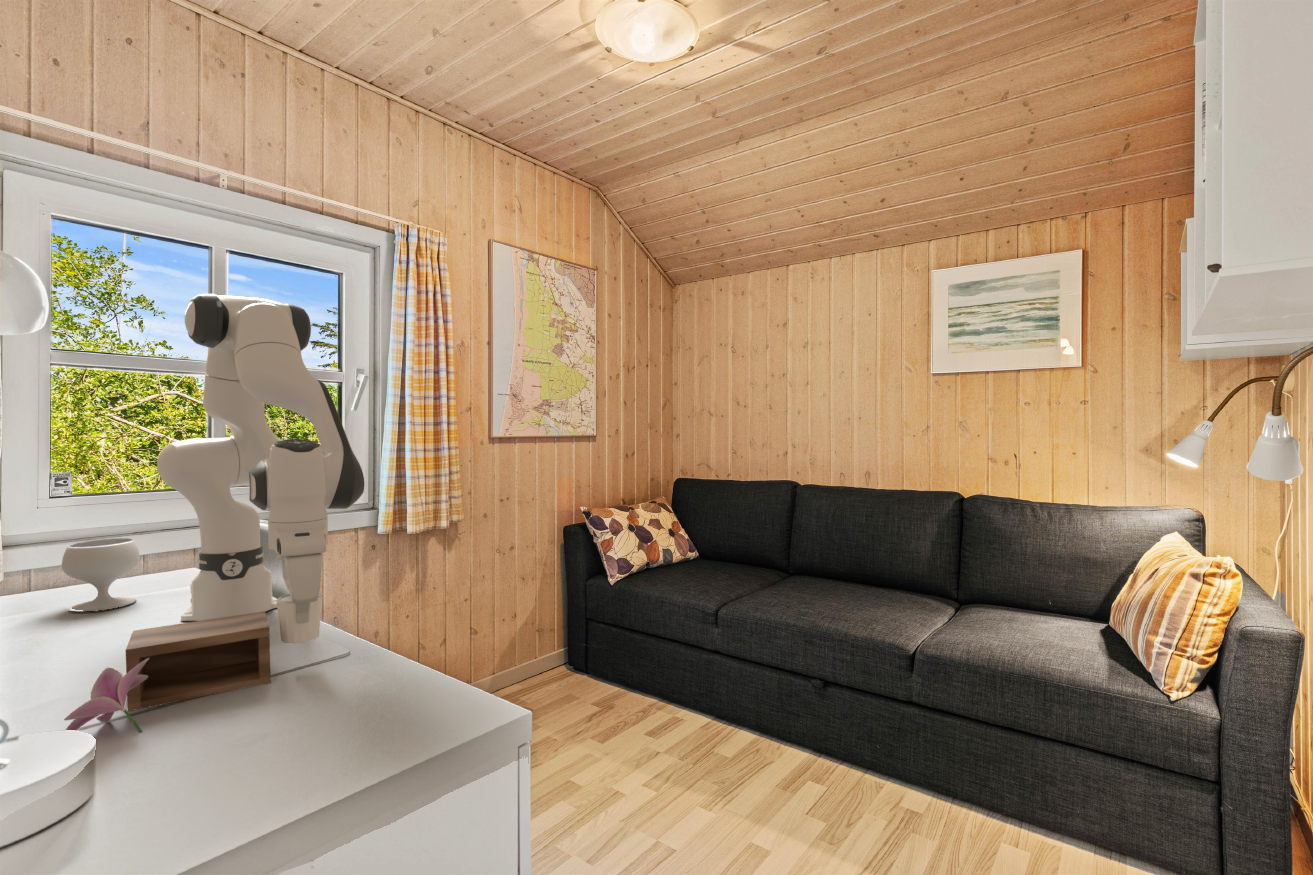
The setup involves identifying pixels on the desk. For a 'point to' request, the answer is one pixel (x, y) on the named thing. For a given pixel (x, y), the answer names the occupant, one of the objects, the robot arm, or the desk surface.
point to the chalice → (101, 568)
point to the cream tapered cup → (290, 627)
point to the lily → (107, 697)
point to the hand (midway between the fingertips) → (300, 617)
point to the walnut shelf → (199, 658)
